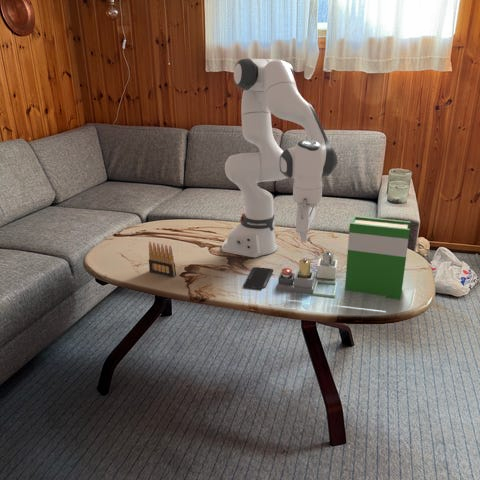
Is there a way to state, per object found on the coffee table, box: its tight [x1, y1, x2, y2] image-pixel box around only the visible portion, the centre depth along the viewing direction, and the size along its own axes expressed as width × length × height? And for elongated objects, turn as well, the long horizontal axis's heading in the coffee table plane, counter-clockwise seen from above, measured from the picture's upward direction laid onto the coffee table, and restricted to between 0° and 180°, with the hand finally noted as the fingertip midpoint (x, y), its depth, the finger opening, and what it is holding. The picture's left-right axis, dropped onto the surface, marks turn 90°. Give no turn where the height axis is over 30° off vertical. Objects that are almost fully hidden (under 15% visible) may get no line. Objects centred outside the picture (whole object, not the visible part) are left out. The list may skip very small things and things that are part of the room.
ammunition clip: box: [148, 241, 177, 278], centre depth 165 cm, size 11×2×12 cm, turn 63°
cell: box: [298, 258, 311, 279], centre depth 153 cm, size 4×4×9 cm
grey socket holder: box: [276, 269, 317, 295], centre depth 155 cm, size 12×8×5 cm, turn 74°
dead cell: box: [322, 251, 334, 267], centre depth 161 cm, size 4×4×9 cm
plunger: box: [281, 267, 293, 279], centre depth 155 cm, size 3×3×3 cm
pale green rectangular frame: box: [312, 279, 338, 298], centre depth 153 cm, size 7×9×1 cm
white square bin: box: [316, 257, 338, 280], centre depth 162 cm, size 6×6×5 cm
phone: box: [242, 266, 274, 291], centre depth 162 cm, size 8×1×15 cm
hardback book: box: [344, 215, 412, 301], centre depth 148 cm, size 18×7×24 cm, turn 69°
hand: (305, 235), depth 148 cm, fingers open, 8 cm apart
